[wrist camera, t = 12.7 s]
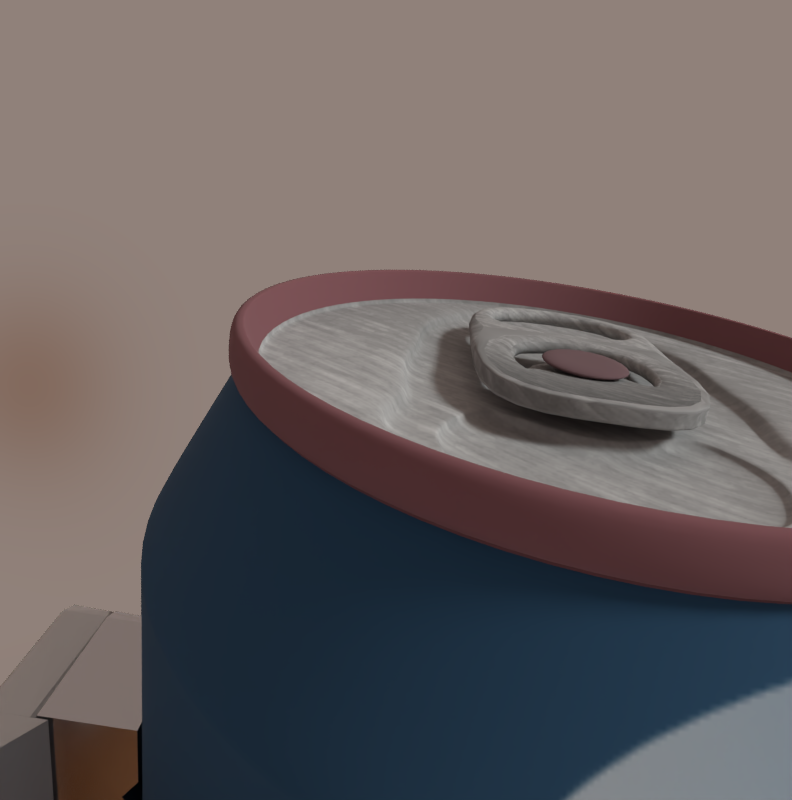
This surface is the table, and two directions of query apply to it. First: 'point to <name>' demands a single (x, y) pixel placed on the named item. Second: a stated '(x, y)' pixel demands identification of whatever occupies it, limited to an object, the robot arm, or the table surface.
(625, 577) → the soda can
